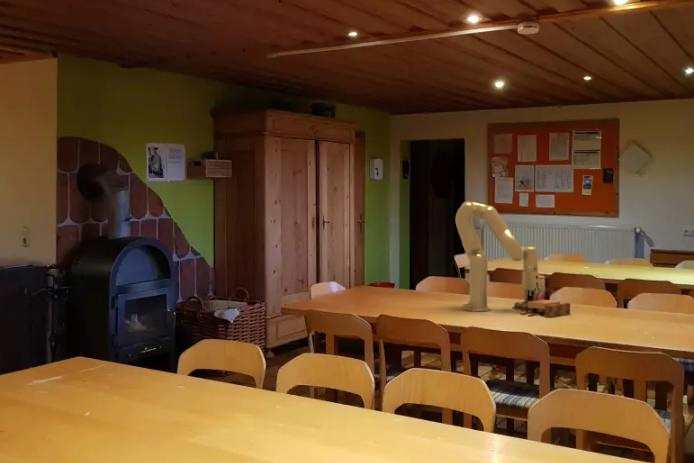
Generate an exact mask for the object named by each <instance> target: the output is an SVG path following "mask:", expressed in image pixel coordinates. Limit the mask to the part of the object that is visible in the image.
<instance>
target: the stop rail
mask: <svg viewBox="0 0 694 463" xmlns="http://www.w3.org/2000/svg"><path fill="white" fill-rule="evenodd" d="M568 315H569V316H571V303H570V302H563V303H561V302H560V304H554V305H547V306H545V315H544V318H549V319H550V318H556V317H562V316H563V317H564V316H568Z"/></svg>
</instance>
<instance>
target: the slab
mask: <svg viewBox="0 0 694 463" xmlns="http://www.w3.org/2000/svg"><path fill="white" fill-rule="evenodd" d="M527 304H528V307H530V308H538V309H545V306H547V305H554V304H561V301H559V300H549V299H545V300H536V301H528V302H527Z"/></svg>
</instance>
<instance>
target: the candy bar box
mask: <svg viewBox="0 0 694 463" xmlns="http://www.w3.org/2000/svg"><path fill="white" fill-rule="evenodd" d="M539 277H540V290H538V293H535V294H534V296H533V301H536V300H546V276H545V275H539ZM523 292H524V293H523V296H524V297H523V302H524V301H526V302H527V295H526V292H525V291H523Z"/></svg>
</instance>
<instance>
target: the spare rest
mask: <svg viewBox="0 0 694 463" xmlns="http://www.w3.org/2000/svg"><path fill="white" fill-rule="evenodd" d="M520 315H521V316H525V315H527V317H530V318H531V317H536V316H537V313H530V312H526V311H525V312H521V313H520Z"/></svg>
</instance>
